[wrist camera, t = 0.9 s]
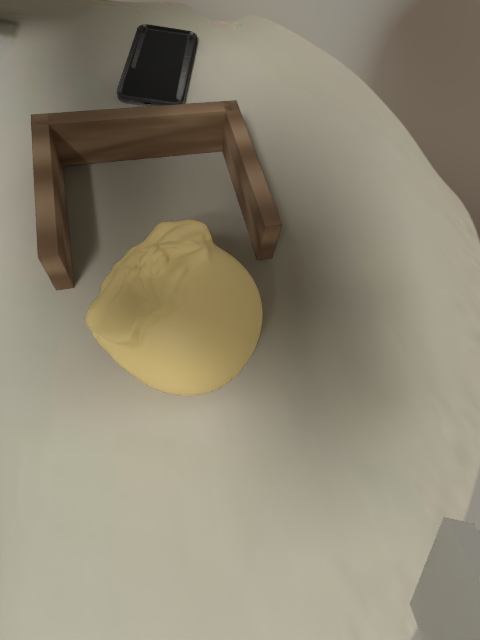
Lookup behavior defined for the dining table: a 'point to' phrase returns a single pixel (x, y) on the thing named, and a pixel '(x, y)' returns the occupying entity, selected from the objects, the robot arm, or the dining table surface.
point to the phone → (158, 66)
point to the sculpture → (178, 311)
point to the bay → (137, 143)
